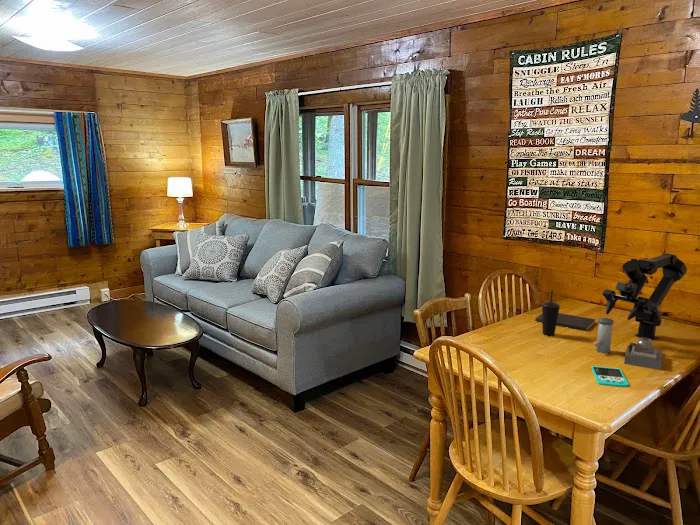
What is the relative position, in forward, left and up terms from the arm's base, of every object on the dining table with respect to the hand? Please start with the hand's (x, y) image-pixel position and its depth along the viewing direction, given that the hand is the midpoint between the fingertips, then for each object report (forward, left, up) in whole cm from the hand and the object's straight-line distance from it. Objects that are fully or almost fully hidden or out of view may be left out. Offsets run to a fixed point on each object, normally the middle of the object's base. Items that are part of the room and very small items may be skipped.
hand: (617, 316), depth 218 cm
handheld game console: (+26, +23, -14) cm, 38 cm away
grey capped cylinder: (+9, +2, -13) cm, 16 cm away
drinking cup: (+14, -22, -13) cm, 29 cm away
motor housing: (-1, +13, -13) cm, 19 cm away
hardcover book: (-6, -34, -14) cm, 37 cm away
